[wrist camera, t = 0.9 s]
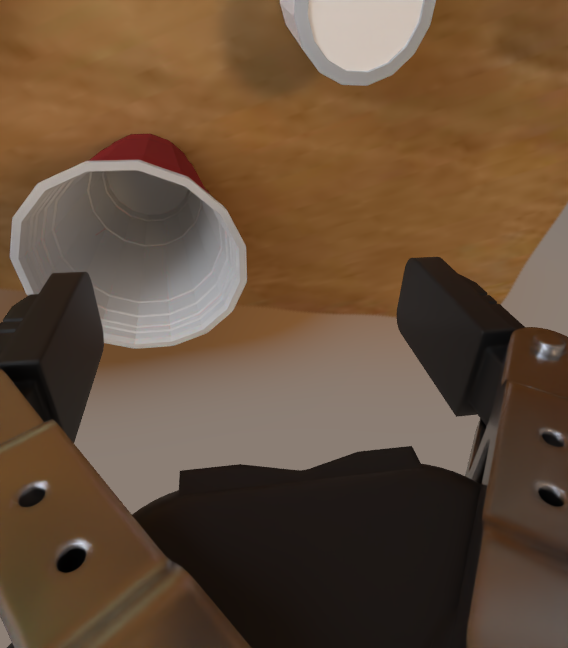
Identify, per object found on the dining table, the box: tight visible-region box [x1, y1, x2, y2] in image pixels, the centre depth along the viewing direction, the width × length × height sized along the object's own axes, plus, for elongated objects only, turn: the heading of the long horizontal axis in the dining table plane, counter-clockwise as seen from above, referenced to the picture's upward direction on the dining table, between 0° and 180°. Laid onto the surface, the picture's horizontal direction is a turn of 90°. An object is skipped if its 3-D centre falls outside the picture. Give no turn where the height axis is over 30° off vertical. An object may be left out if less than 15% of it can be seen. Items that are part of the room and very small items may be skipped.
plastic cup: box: [10, 134, 247, 348], centre depth 26 cm, size 11×11×12 cm
